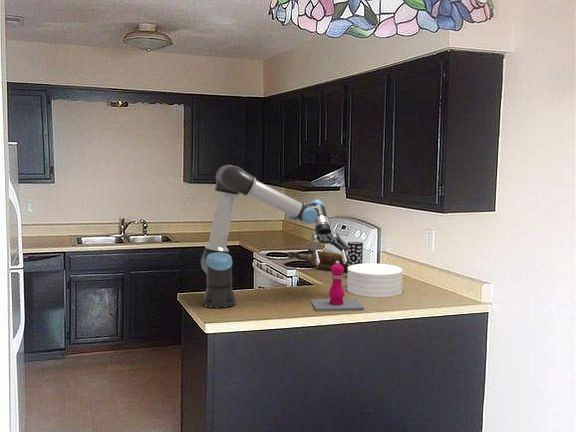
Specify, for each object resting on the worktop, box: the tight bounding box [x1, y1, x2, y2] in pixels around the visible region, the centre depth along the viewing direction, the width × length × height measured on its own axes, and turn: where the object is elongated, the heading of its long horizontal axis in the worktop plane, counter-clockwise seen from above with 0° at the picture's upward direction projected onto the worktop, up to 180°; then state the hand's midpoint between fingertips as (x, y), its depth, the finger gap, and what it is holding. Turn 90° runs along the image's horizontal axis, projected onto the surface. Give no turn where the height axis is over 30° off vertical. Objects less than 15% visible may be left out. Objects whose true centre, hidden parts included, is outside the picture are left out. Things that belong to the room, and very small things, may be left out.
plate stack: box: [346, 262, 404, 298], centre depth 313 cm, size 28×28×12 cm
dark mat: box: [310, 298, 365, 312], centre depth 282 cm, size 22×16×1 cm
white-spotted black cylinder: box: [346, 241, 364, 277], centre depth 339 cm, size 8×8×20 cm
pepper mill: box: [328, 261, 346, 305], centre depth 281 cm, size 7×7×20 cm
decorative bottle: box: [287, 250, 348, 273], centre depth 366 cm, size 11×11×45 cm
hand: (332, 263), depth 288 cm, fingers open, 13 cm apart
